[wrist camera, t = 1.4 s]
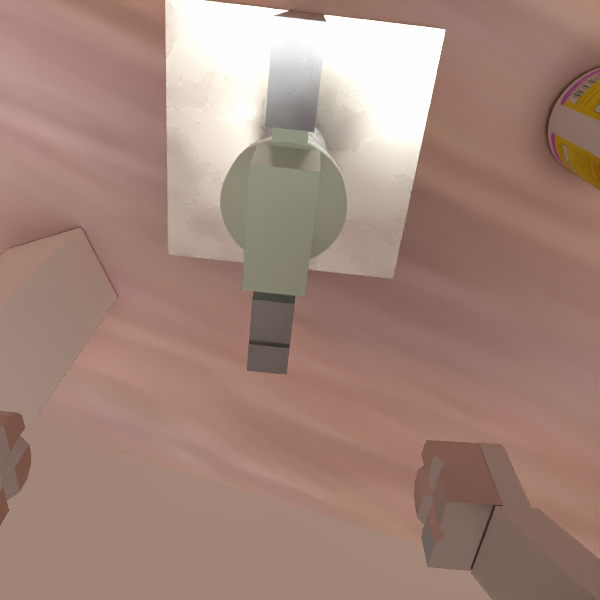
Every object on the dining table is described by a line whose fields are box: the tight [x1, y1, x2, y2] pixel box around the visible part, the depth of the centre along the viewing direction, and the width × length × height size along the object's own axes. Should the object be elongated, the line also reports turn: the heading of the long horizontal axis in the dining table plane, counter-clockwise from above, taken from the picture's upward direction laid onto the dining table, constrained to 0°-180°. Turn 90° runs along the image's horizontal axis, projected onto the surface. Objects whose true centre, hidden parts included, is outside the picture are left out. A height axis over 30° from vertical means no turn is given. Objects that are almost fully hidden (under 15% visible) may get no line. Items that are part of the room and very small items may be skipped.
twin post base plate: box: [165, 0, 445, 374], centre depth 30 cm, size 16×16×14 cm
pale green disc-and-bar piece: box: [220, 128, 347, 297], centre depth 25 cm, size 6×11×5 cm, turn 174°
